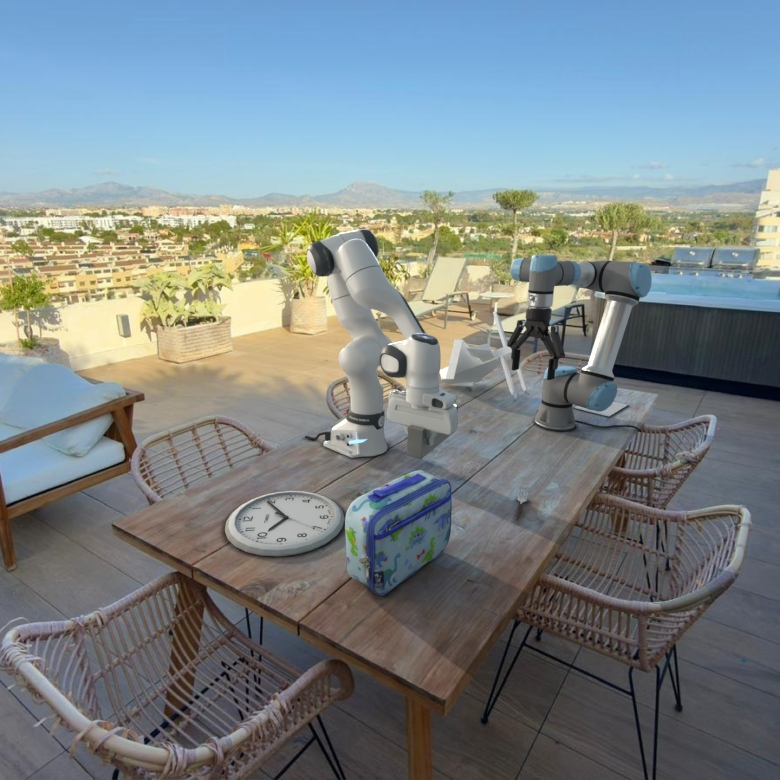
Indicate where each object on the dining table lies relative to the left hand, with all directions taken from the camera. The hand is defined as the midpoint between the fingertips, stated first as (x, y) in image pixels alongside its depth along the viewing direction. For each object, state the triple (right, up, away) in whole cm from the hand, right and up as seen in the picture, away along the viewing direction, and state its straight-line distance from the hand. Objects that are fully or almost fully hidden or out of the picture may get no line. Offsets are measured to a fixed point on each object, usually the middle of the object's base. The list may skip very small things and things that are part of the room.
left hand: (420, 442), depth 144 cm
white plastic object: (+33, +13, +99) cm, 105 cm away
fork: (+27, -18, -1) cm, 33 cm away
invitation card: (+83, +7, +82) cm, 117 cm away
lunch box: (-6, -26, -28) cm, 38 cm away
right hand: (+37, +19, +21) cm, 46 cm away
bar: (+4, -1, +8) cm, 9 cm away
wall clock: (-35, -20, -10) cm, 42 cm away
